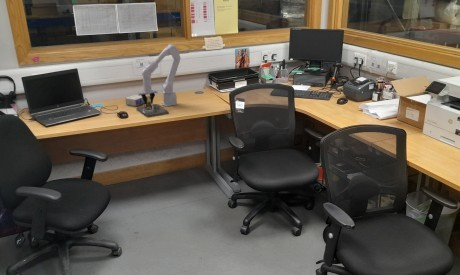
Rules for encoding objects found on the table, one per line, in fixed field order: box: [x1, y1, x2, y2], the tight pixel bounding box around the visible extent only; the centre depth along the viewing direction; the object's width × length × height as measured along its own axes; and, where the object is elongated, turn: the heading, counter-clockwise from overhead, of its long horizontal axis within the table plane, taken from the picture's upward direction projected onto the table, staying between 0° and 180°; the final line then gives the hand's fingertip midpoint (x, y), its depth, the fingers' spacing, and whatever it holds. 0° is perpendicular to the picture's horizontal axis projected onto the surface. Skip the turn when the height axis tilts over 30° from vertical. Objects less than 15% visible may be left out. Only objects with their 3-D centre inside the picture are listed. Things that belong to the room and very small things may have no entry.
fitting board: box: [135, 103, 170, 118], centre depth 280 cm, size 16×20×4 cm
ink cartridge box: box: [125, 93, 145, 107], centre depth 298 cm, size 10×6×14 cm
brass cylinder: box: [145, 95, 152, 106], centre depth 292 cm, size 4×4×7 cm
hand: (148, 103), depth 292 cm, fingers closed on brass cylinder, 4 cm apart
